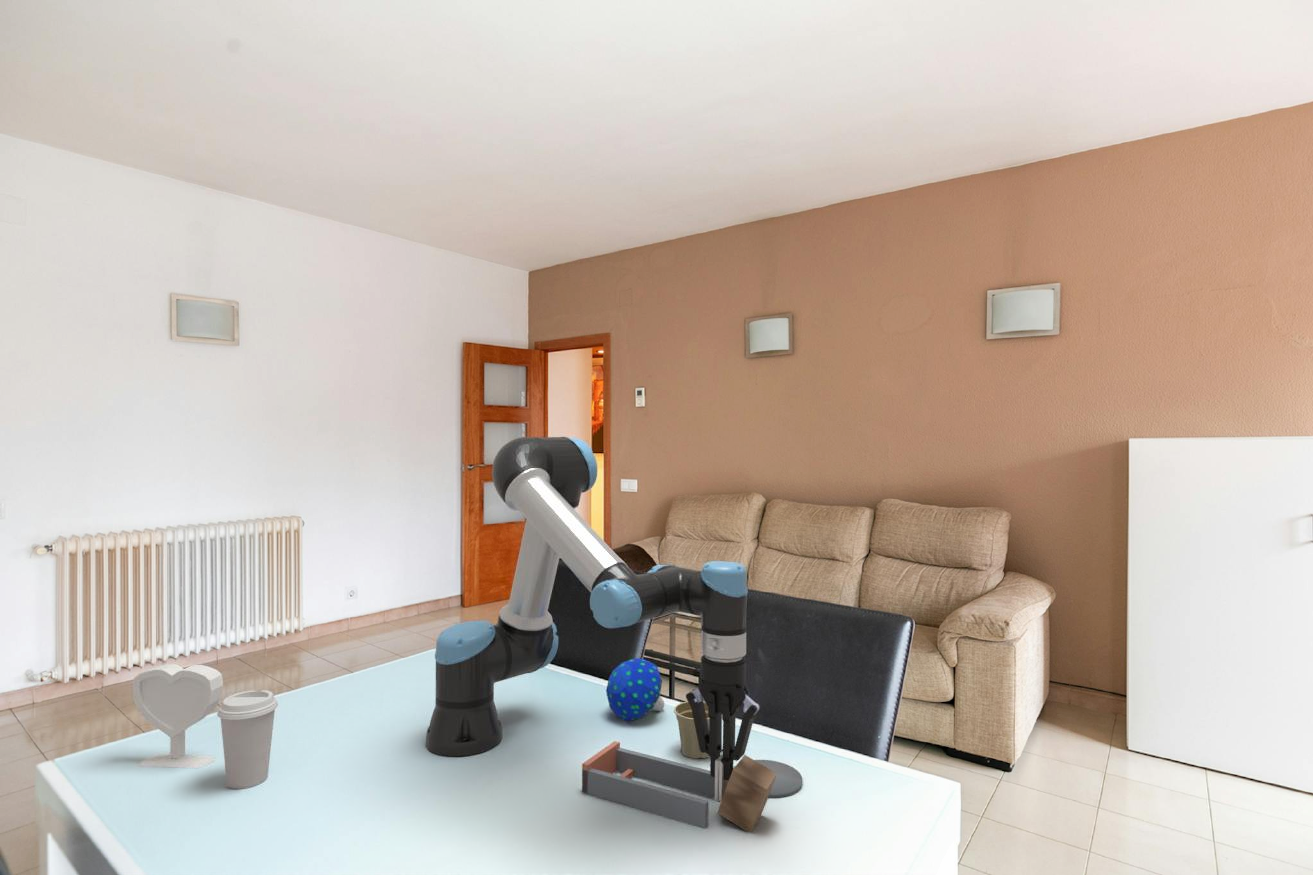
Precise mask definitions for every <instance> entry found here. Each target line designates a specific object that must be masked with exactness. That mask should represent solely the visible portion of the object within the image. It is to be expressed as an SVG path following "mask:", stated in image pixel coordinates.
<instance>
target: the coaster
mask: <svg viewBox="0 0 1313 875" xmlns="http://www.w3.org/2000/svg"><path fill="white" fill-rule="evenodd" d="M754 760H755V761H756V762H758V763H760V764H762V765H763V766H765V767H767V768H768V769H770V770H772V771H774V772H775V773H777V776H776V778H775V781H774V784H773V786H772V789H771V791H770V794H769V797H768V799H780V798H786V797H789V796H793V795H795V794H797V793H798V792H799V791H800V790H801V789H802V787H803V776H802V775H801V773H800V772H799V771H798V769H796V768H794V767H793V766H790V765H789V764H786V763H783V762H780V761H776V760H771V759H754ZM734 768H735V766H733V769H734Z"/></svg>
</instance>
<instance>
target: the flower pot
mask: <svg viewBox="0 0 1313 875" xmlns="http://www.w3.org/2000/svg"><path fill="white" fill-rule="evenodd" d="M702 701H703V703H704V708H705V713H706V718H707V722H708V727H709V721H710V718H709V716H708V706H707V704H706V702H705V700H702ZM673 712H674V714H675V717H676V720H677V723H678V732H679V742H680V749H681V753H682V754H683V755H684V757H687V758H690V759H694V760H695V759H696V760H697V759H699V758H702V759H706V758H710V756H709V755H708V754H707V753H702V752H701V751H700V748H699V744H698V739H697V734H696V729H695V724H694V719H693V714H692V709H691V706H690V704H689V703H688V701H687V700H686V701H683V702H680V703H678V704H676V705H675V706H674V707H673Z"/></svg>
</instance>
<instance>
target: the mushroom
mask: <svg viewBox="0 0 1313 875" xmlns="http://www.w3.org/2000/svg"><path fill="white" fill-rule="evenodd" d="M658 668H659V667H658V666H657V664H655V663H653V662H651V661H650V660H646V659H644V658H640V657H639V658H638V657H637V658H631V659H628V660H626V661H623V662H621V663H620V664H619V665H618V666H617V667H615V668H614V669H613V670H612V672H611V674H610V676H609V677H608V681H607V685H606V689H605V691H606V692H605V693H606V696H607V701H608V705H609V708H610V709H611V711H612V713H613V714H614V715H615V716H617V717H619V718H620V719H621V720H622V721H624V722H632V721H636V720H640V719H643V718H644V717H645V716H646V715H648V713H649V712H650V711H655V712H661V711H662V710H663V709H664V707H665V701H664V700H663V698H662V697H661V692H662V687H663V686H662V684H663V679H662V677H661V674H660V671H659V669H658Z"/></svg>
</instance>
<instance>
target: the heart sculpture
mask: <svg viewBox="0 0 1313 875" xmlns="http://www.w3.org/2000/svg"><path fill="white" fill-rule="evenodd" d="M223 689H224V680H223V674H222V673H221V672H220V671H219V670H217V669H215V668H213V667H210V666H207V665H204V664H193V665H190V666H188V667H186V668H183V667H182V666H180V665H178V664H176V663H166V664H162V665H158V666H156V667H153V668H150V669H147V670H145V671H143V672H141V673H138V675H137V676H135V677H133V683H132V689H131V690H132V696H133V702H134V705H135V707H136V708H137V711H138V712H139V713H140V715H141V717H143V718H144V719H145V720H146V721H147V722H148V723H149V724H150V725H152V726H153V727H155V728H156V729H157V730H158V731H160V732H163V733H164V734H165V735H167V736H168V737H169V740H170V745H169V746H170V748H169V749H170V752H169V754H168V753H167V754H166V753H163V754H162V753H157V754H155V755H151V756H149V757H146V758H144V759H143V760H141V762H139V764H138V766H139V767H157V768H158V767H159V768H184V769H186V768H187V769H188V768H190V769H199V768H202V767H204V766H207V765H209V764H211V763H213V762H214V761H215V759H216V755H199V754H198V755H195V754H194V755H192V754H186V730H188V729H189V728H191V727H192V726H193V725H195V724H197V723H198V722H200V721H202V720H204V719H205V718H206V717H207V716H209V715H210V714H211V713H212V712H214V711H215V709H216V707H217V706H218V704H219V702H220V701H221V699H222V696H223Z"/></svg>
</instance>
